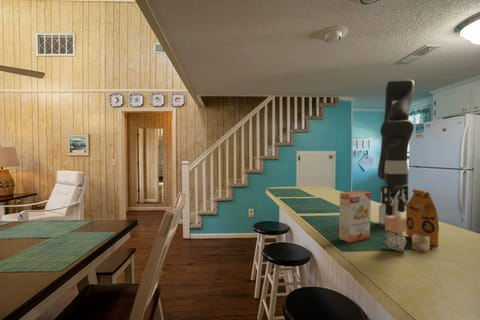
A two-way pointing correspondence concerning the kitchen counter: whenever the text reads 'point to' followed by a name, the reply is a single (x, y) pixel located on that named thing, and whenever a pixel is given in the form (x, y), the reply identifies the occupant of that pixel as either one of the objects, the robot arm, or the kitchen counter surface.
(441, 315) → the kitchen counter surface
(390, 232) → the game die
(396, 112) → the robot arm
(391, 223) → the terracotta block
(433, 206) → the coffee package
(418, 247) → the birch block
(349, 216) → the cracker box
